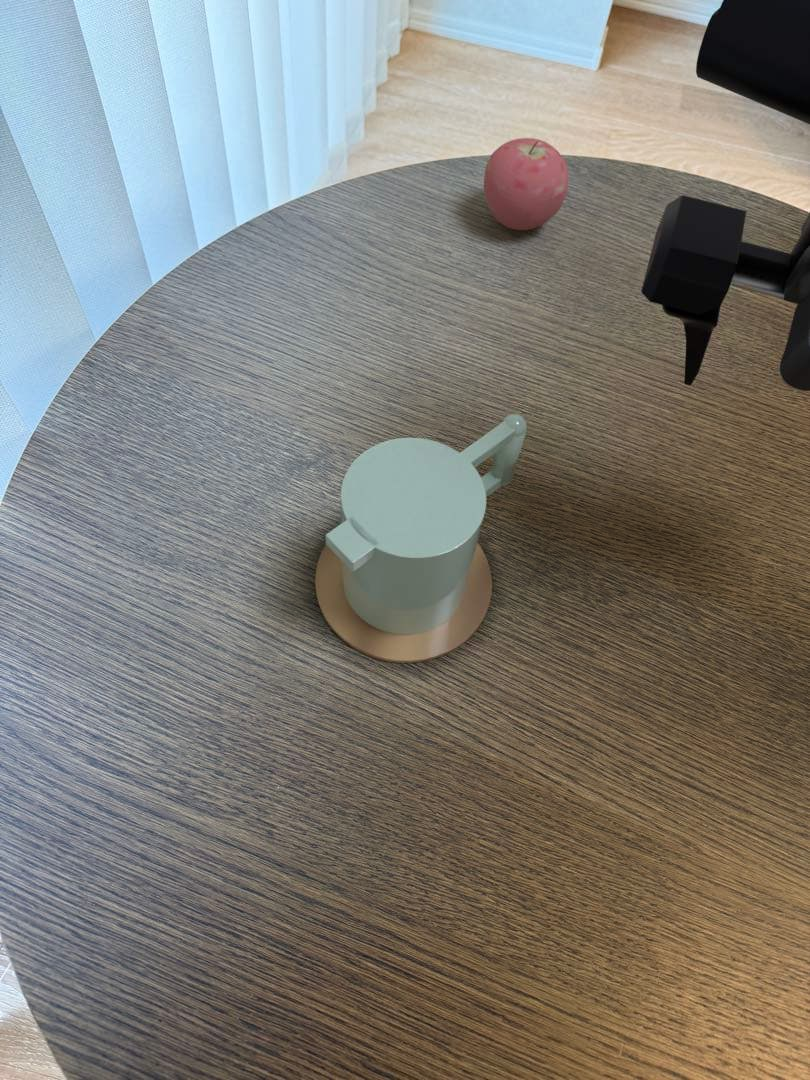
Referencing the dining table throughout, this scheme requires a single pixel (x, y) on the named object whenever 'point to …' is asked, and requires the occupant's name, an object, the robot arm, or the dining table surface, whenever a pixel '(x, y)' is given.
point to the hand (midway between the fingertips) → (764, 401)
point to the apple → (525, 183)
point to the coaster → (396, 644)
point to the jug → (417, 525)
